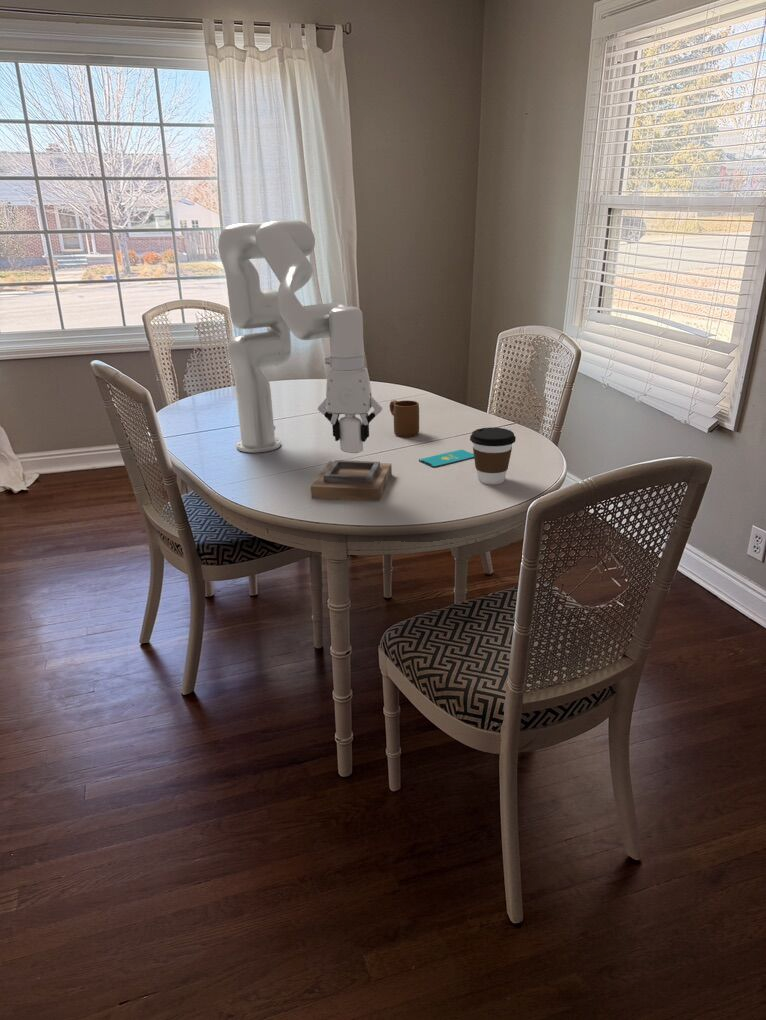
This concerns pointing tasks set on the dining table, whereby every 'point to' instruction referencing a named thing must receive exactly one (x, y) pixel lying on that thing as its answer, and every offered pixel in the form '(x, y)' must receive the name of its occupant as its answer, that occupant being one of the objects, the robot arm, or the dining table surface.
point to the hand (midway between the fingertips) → (351, 439)
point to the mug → (405, 418)
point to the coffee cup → (492, 453)
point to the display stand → (352, 480)
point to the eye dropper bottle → (350, 434)
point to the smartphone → (447, 458)
